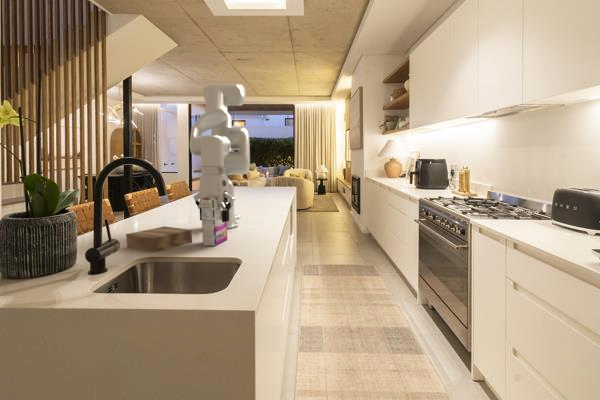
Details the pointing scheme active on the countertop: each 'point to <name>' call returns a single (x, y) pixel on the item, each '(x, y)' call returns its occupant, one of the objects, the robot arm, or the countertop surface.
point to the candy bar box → (212, 222)
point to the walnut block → (159, 239)
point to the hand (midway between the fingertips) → (214, 220)
